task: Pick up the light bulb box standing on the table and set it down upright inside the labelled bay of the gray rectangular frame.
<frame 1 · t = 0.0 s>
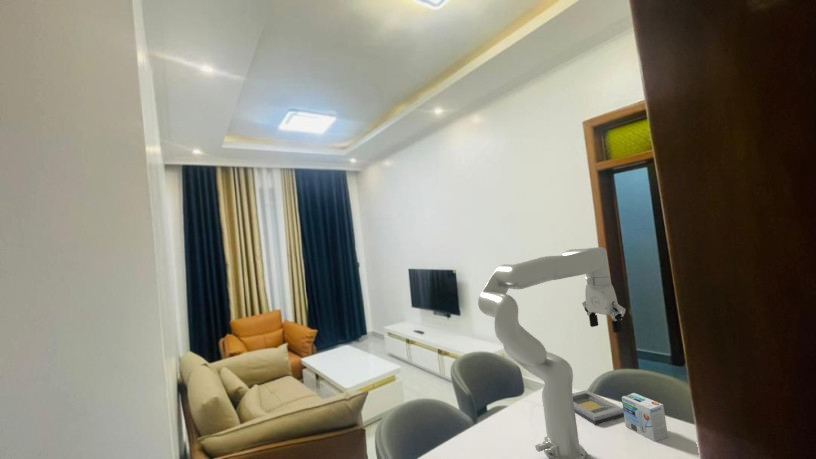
hand: (605, 328, 113), 37 cm above the table, tool pointing down, fingers open, 9 cm apart
light bulb box: (646, 432, 110), on the table
gray rectangular frame: (590, 409, 127), on the table
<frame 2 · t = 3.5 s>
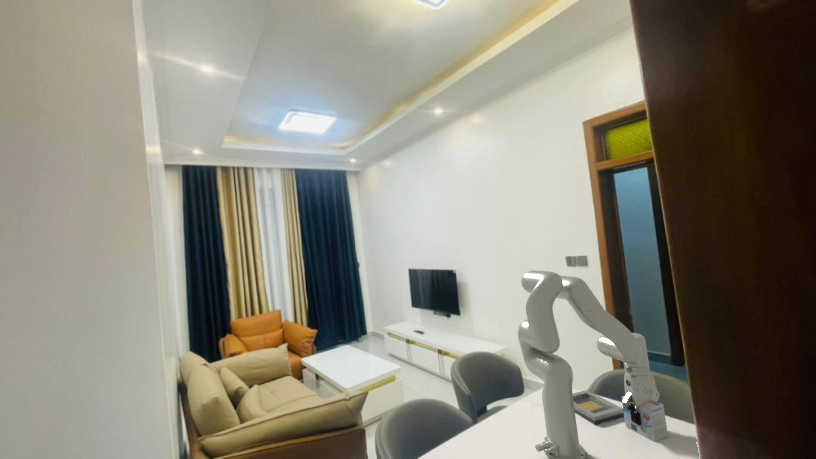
hand: (644, 420, 111), 4 cm above the table, tool pointing down, fingers closed on light bulb box, 6 cm apart
light bulb box: (646, 432, 110), on the table, touching gripper
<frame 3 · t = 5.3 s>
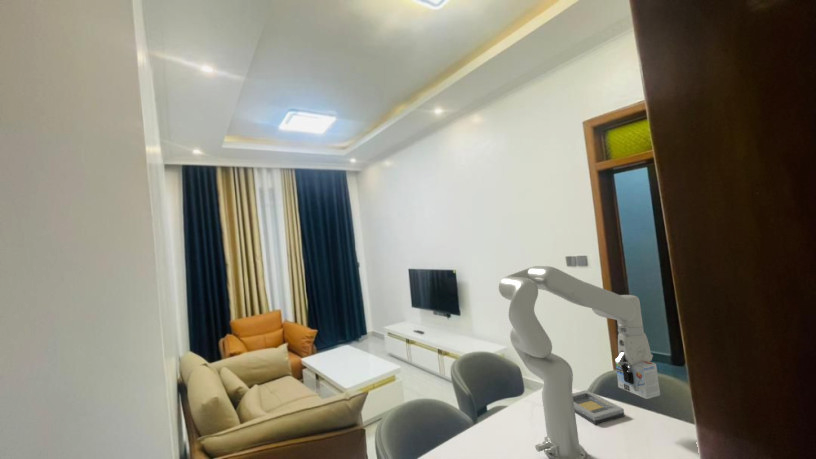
hand: (637, 380, 112), 18 cm above the table, tool pointing down, fingers closed on light bulb box, 6 cm apart
light bulb box: (638, 392, 111), point 14 cm above the table, touching gripper
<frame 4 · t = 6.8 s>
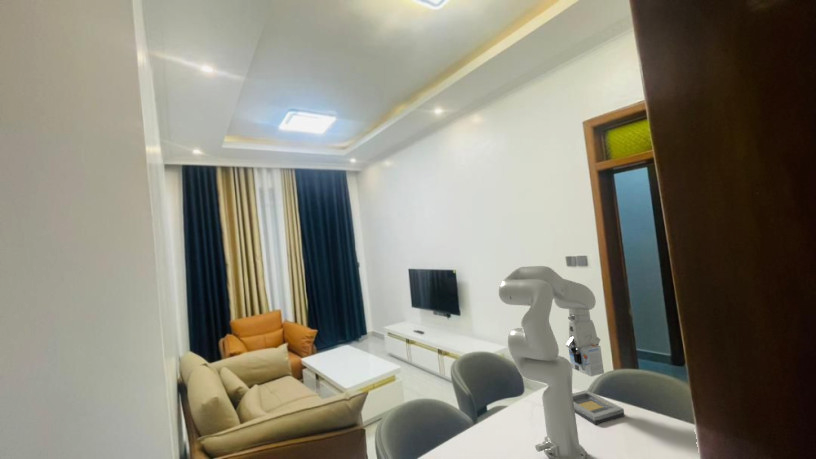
hand: (585, 361, 128), 20 cm above the table, tool pointing down, fingers closed on light bulb box, 6 cm apart
light bulb box: (587, 371, 128), point 16 cm above the table, touching gripper
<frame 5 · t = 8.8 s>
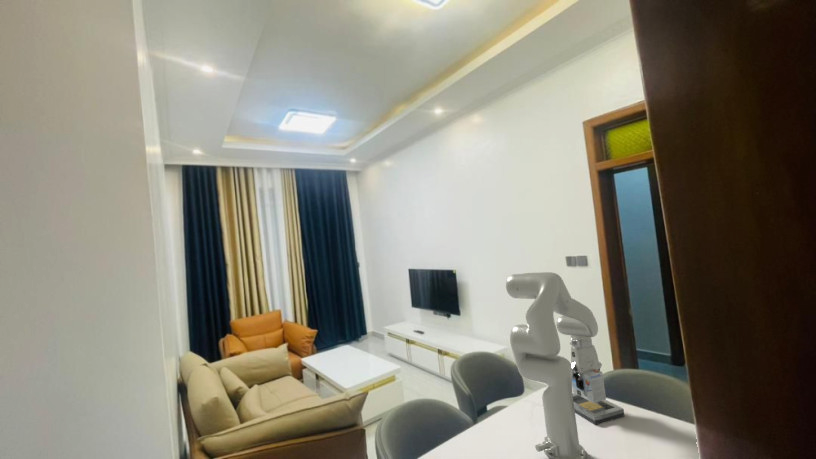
hand: (587, 386, 128), 9 cm above the table, tool pointing down, fingers closed on light bulb box, 6 cm apart
light bulb box: (589, 396, 128), point 5 cm above the table, touching gripper
when the fingers open (6 cm above the table, at t = 10.4 s): light bulb box stays where it is, resting on gray rectangular frame.
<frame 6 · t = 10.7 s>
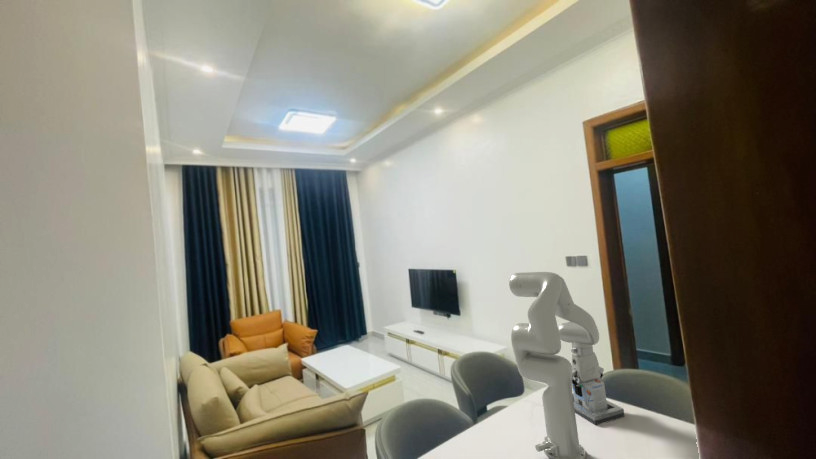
hand: (588, 392, 128), 7 cm above the table, tool pointing down, fingers open, 9 cm apart
light bulb box: (590, 406, 127), point 1 cm above the table, touching gray rectangular frame
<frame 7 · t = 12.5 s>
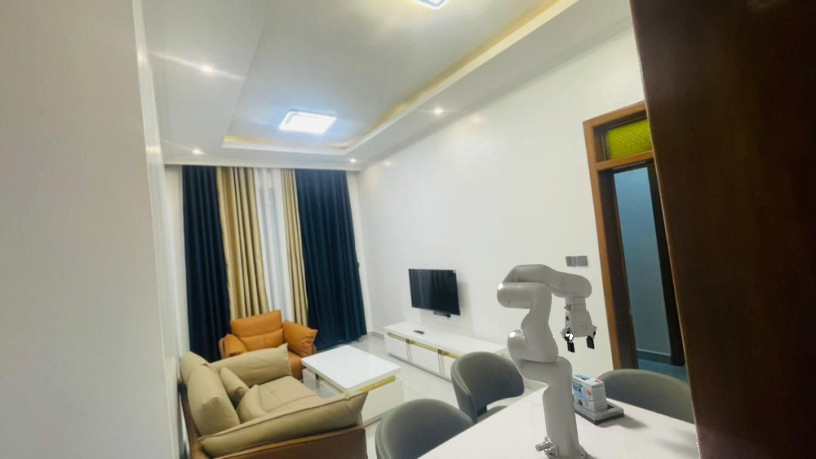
hand: (581, 350, 128), 25 cm above the table, tool pointing down, fingers open, 9 cm apart
nothing on the table moved.
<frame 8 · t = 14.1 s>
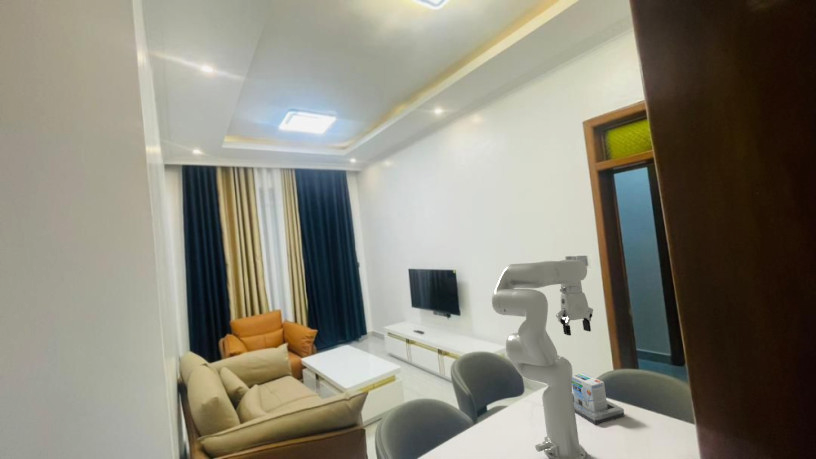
hand: (577, 332, 126), 32 cm above the table, tool pointing down, fingers open, 9 cm apart
nothing on the table moved.
at the end: light bulb box 0.1 cm off-centre on the gray rectangular frame, point 1.4 cm above the gray rectangular frame's base; light bulb box tilted 0°; the gripper is holding nothing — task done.
